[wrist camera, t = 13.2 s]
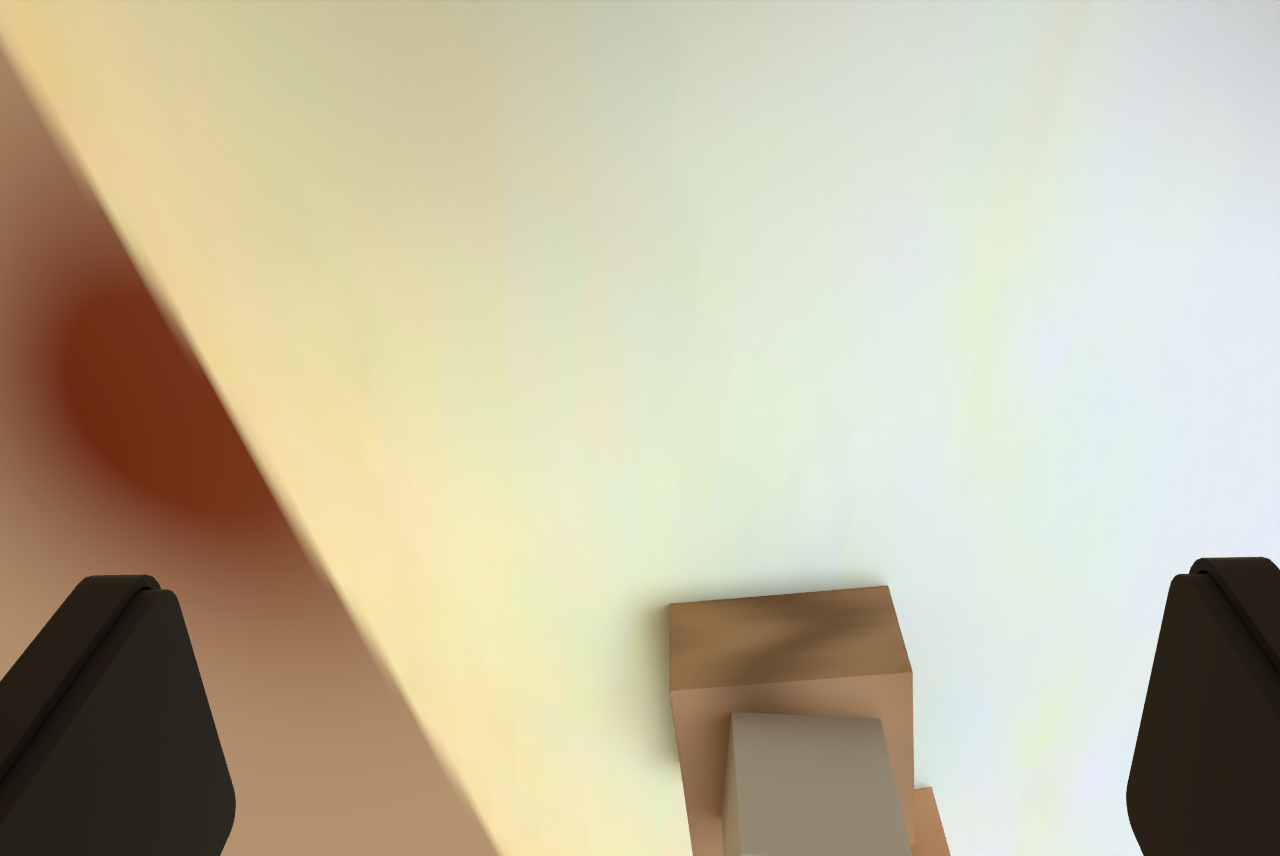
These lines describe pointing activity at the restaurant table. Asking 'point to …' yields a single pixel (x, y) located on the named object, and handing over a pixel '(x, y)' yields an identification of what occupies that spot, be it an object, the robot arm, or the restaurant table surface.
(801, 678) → the walnut block
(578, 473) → the restaurant table surface
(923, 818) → the terracotta cube
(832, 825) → the grey block
